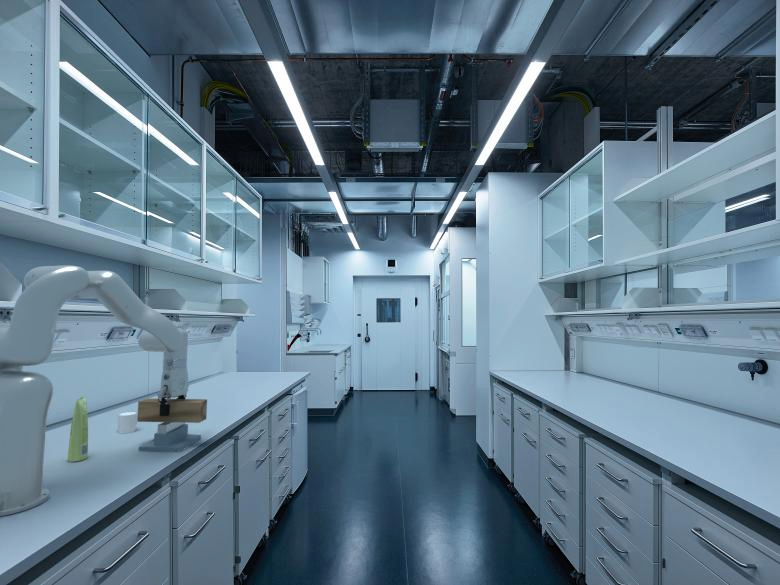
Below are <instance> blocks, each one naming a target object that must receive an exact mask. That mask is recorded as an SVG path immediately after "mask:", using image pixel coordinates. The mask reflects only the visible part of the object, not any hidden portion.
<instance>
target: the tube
mask: <svg viewBox="0 0 780 585" xmlns="http://www.w3.org/2000/svg"><path fill="white" fill-rule="evenodd" d="M72 414H73V415H72V418H71V425H70V427H71V428H70V434H69V442H68V453H67V461H68V462H71V463H75V462H80V461H83V460H86V459H87V458H88V457H89V455H88V454H89V421H88V420H89V418H88V404H87V398H86V395H82V396H81V397H78V398H77V399H76V402H75V405H74V409H73V413H72Z"/></svg>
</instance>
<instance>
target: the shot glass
mask: <svg viewBox="0 0 780 585" xmlns="http://www.w3.org/2000/svg"><path fill="white" fill-rule="evenodd" d="M137 417H138V411H127V412H120V413H118V414H117V417H116V418H117V433H118V434H119V435H120V434H121V435H123V434H126V435H127V434H132V433H135V432H136V431H137V425H138V424H137V423H138V422H137Z"/></svg>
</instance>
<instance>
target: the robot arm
mask: <svg viewBox="0 0 780 585" xmlns="http://www.w3.org/2000/svg"><path fill="white" fill-rule="evenodd" d="M23 285H24V288H25V289H24V290H23V291H22V292H21V294H20V295H19V296H18V297H17V299H16V302H15V303H14V307H13V310H12V314H11V316H10V317H11V318H10V322H9V326H8V327H1V328H0V517H1V516H2V517H4V516H7V515H13V514H17V513H20V512H24V511H27V510H29V509H32V508H35V507H37V506H39V505H41V504H43V503H44V502H46V501H47V500H48V499H49V497H50V493H51V492H50V490H49V489H47V488H43V478H44V476H43V475H44V474H43V473H44V460H45V449H46V448H45V443H46V431H47V428H46V427H47V420H48V413H49V410H50V406H51V402H52V399H53V394H54V386H53V383H52V381H51V380H50V378H48V377H47V376H45V375H44V374H41V373H38V372H34V371H24V370H23V369H24V367H31V366H32V367H34V366H39V365H40V364H43V363H45V362H46V361H47V360H48V359H49V358H50V357H51V355H52V351H53V347H54V341H55V334H56V328H57V321H58V317H59V312H60V310H61V309H62V308H63V306H64V304H66V302H68V301H69V300H70V299H74V300H75V299H76V300H77V299H81V300H82V299H83V300H85V299H86V300H87V299H89V300H90V299H91V300H92V299H93V300H95V299H96V300H98V302H99V303H100V304H102V306H104V308H106V309H107V311H109V312H110V313H111V314H112V316H114V318H115V319H116V320H117V321H119V322H120V323H123V324H125V325H127V326H130V327H134V328H137V329H140V330H141V331H144V332H142V333H141V334H140V335H139V337H138V341H137V342H138V346H139V347H140V349H142V350H144V351H146V352H156V353H163V357H162V358H163V359H162V372H161V373H162V374H161V382H160V390H159V391H158V392H157V393H156V394H157V395H156V396H157V399H158V401H159V404H160V414H159V415H160V416H169V415H170V404H169V402H170V399H187V397H188V396H187V393H188V392H189V372H188V343H189V333H188V330H186V329H179V328H178V327H177V326H176V324H174V322H173V321H171V320H170V319H169V318H168V317H167V316H165V315H164V314H162V313H161V312H159V311H157V310H156V309H154V308H152V307H151V306H148V305H147V304H146V303H144V302H143V300H141V299H140V297H139V296H138V295H137V294H136V293H135V292H134V291H133V289H131V287H130V286H129V285H128V284H127V283H126V281H124V279H122V277H121V276H120V275H119V274H117V272H114V271H111V270H87V269H85V268H84V267H81V266H78V265H67V264H66V265H61V264H60V265H48V266H47V265H45V266H37V267H34V268H32V269H30V270H29V271H27V273H26V274H25V276H24V278H23ZM166 399H167V400H166Z"/></svg>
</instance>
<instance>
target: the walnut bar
mask: <svg viewBox="0 0 780 585" xmlns="http://www.w3.org/2000/svg"><path fill="white" fill-rule="evenodd" d="M165 399H166V400H167V398H165ZM169 404H170V415H169V416H160V415H159V414H160V404H159V401H158V398H153V397H152V398H149V397H148V398H145V399H142V400H138V402H137V412H138V417H137V423H138V422H139V423H163V422H183V423H185V424H189V423H191V424H192V423H193V424H194V423H195V424H200V423H201V422H203V421H205V420H207V415H208V414H207V411H208V410H207V409H208V399H202V398H199V399H198V398H194V399H193V398H186V399H176V398H171V399H170V402H169Z"/></svg>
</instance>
